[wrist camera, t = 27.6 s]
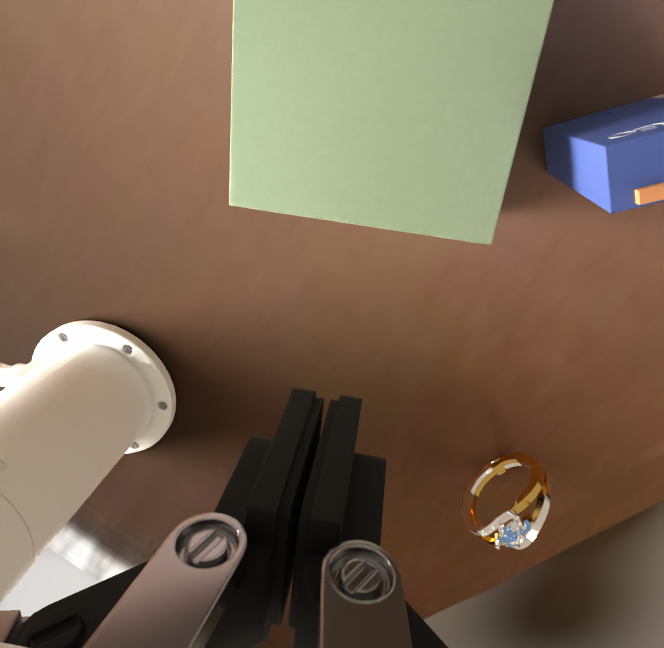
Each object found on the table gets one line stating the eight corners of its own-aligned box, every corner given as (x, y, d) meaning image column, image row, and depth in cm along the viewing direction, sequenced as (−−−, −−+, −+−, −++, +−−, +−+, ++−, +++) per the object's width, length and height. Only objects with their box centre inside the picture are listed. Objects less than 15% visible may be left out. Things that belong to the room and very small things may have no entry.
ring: (524, 426, 39) (548, 503, 32) (547, 455, 39) (576, 536, 32) (448, 467, 41) (453, 545, 34) (471, 492, 42) (481, 575, 35)
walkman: (547, 174, 31) (613, 217, 20) (541, 127, 30) (607, 147, 20) (692, 136, 29) (849, 162, 18) (690, 85, 28) (855, 81, 17)
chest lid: (240, -141, 22) (235, -147, 21) (581, -113, 20) (585, -118, 20) (232, 203, 28) (228, 205, 28) (489, 242, 27) (491, 245, 26)
